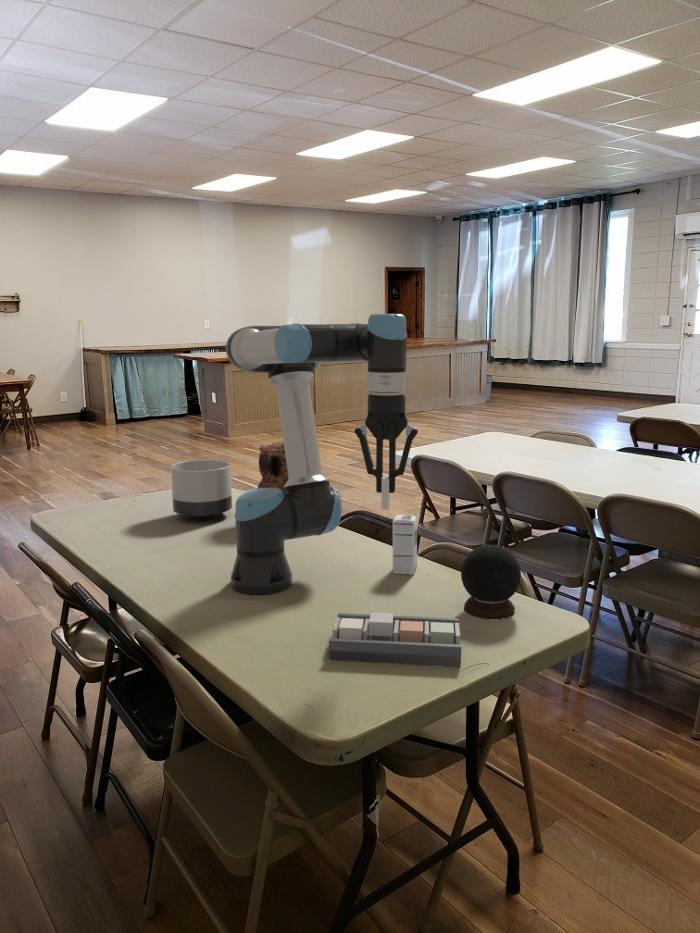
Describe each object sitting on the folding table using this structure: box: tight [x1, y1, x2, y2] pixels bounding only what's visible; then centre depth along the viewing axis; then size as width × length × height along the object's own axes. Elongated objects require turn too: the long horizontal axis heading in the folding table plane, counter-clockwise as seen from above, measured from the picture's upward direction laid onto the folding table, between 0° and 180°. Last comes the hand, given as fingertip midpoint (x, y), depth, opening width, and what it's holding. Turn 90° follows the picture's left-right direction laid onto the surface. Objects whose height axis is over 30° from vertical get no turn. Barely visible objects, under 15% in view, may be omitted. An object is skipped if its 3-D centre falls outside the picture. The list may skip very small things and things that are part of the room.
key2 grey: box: [369, 612, 394, 634], centre depth 139 cm, size 4×4×2 cm
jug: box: [257, 441, 289, 493], centre depth 230 cm, size 22×21×25 cm
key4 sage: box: [430, 622, 454, 644], centre depth 138 cm, size 4×4×2 cm
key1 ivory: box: [339, 618, 364, 640], centre depth 140 cm, size 4×4×2 cm
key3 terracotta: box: [400, 621, 423, 643], centre depth 139 cm, size 4×4×2 cm
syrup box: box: [392, 514, 418, 576], centre depth 181 cm, size 6×6×14 cm
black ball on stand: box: [460, 544, 522, 620], centre depth 157 cm, size 13×13×15 cm
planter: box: [170, 459, 233, 521], centre depth 233 cm, size 19×19×18 cm
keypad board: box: [328, 612, 462, 667], centre depth 139 cm, size 25×13×4 cm, turn 83°
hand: (385, 507), depth 144 cm, fingers closed
